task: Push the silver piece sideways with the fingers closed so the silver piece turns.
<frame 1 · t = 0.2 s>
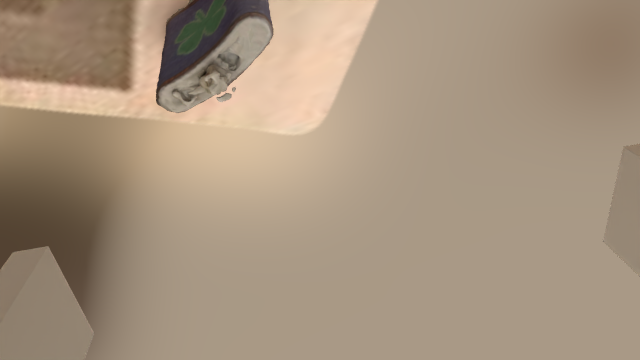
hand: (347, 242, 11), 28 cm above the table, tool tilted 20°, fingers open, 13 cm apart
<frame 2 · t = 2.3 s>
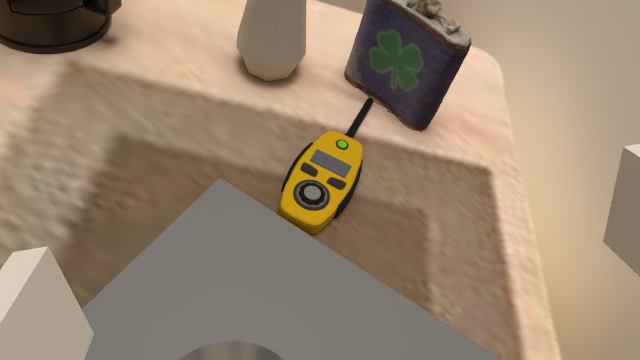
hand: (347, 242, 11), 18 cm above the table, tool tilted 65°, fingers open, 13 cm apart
flask: (385, 100, 42), on the table
salt shaker: (268, 67, 42), on the table
french press: (56, 21, 40), on the table
yellow walkie-talkie: (335, 161, 37), on the table
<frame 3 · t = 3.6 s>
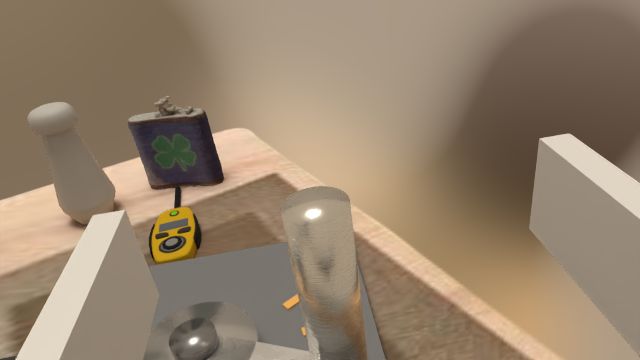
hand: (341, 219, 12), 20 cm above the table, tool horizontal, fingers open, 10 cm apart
flask: (188, 183, 58), on the table
silver piece: (229, 295, 27), point 8 cm above the table, hinge at -25.0°
salt shaker: (96, 215, 54), on the table
yellow walkie-talkie: (179, 229, 50), on the table
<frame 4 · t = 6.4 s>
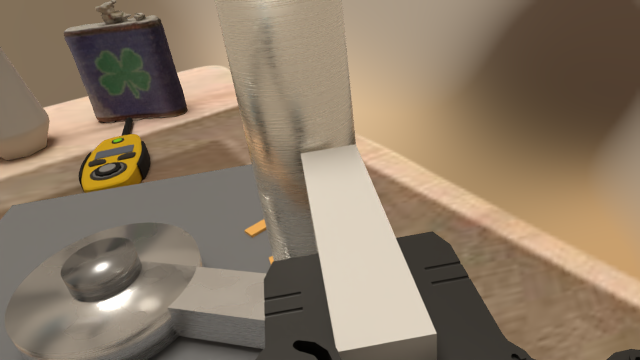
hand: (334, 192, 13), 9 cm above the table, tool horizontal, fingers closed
flask: (144, 116, 47), on the table
silver piece: (143, 177, 17), point 8 cm above the table, hinge at -23.2°, touching gripper
salt shaker: (25, 151, 43), on the table
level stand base: (130, 327, 22), on the table
yellow walkie-talkie: (124, 161, 40), on the table
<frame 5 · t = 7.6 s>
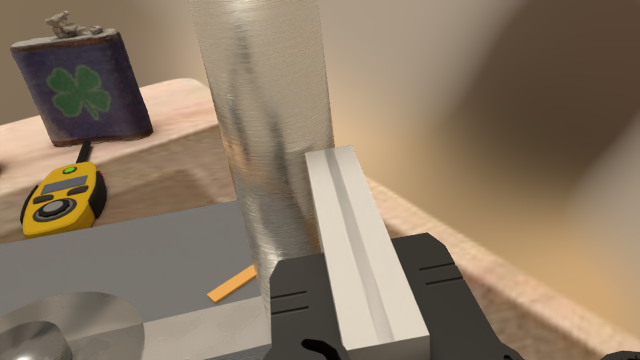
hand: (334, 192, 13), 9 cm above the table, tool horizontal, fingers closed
flask: (105, 139, 43), on the table
silver piece: (84, 230, 14), point 8 cm above the table, hinge at 2.3°, touching gripper
yellow walkie-talkie: (78, 193, 35), on the table
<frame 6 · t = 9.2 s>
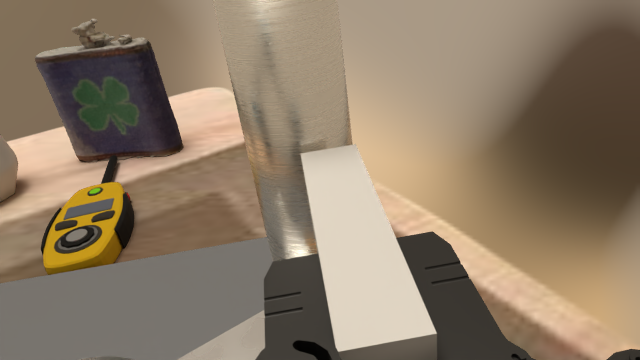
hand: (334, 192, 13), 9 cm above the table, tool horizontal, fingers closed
flask: (132, 154, 40), on the table
silver piece: (111, 272, 13), point 8 cm above the table, hinge at 27.9°
yellow walkie-talkie: (104, 216, 32), on the table
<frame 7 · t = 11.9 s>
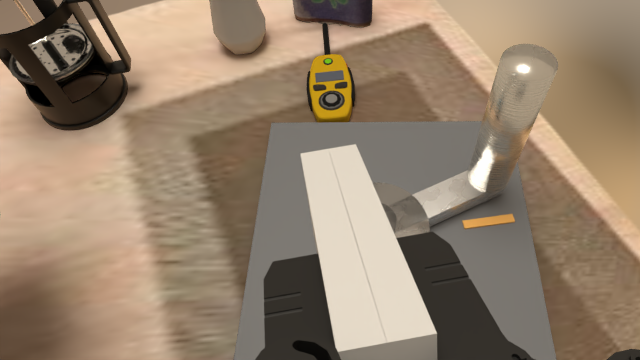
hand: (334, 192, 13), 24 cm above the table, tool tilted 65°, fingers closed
flask: (333, 19, 56), on the table
silver piece: (426, 168, 33), point 8 cm above the table, hinge at 27.9°
salt shaker: (244, 44, 55), on the table
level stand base: (375, 243, 39), on the table
french press: (90, 97, 52), on the table
yellow walkie-talkie: (329, 76, 51), on the table
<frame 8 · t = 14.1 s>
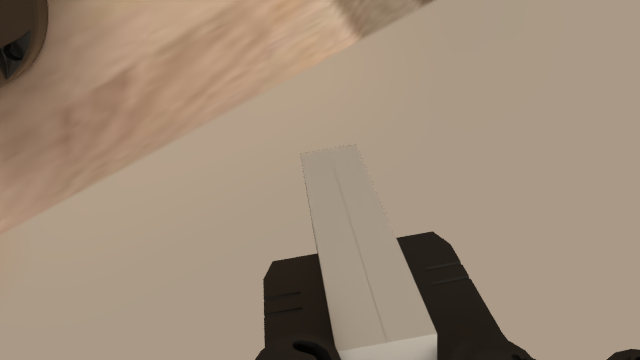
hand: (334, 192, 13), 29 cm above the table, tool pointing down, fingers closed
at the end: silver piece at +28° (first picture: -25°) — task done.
